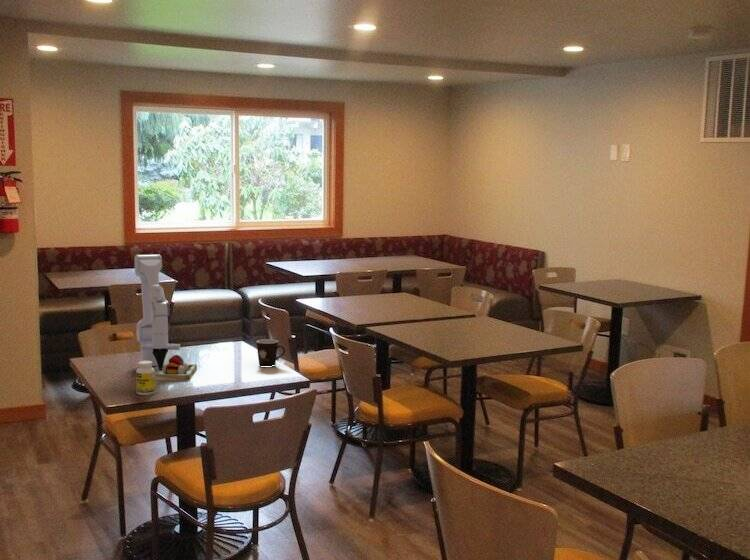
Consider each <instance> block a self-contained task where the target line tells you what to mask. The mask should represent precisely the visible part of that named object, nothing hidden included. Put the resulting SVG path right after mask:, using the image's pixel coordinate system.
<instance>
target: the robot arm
mask: <svg viewBox="0 0 750 560" xmlns="http://www.w3.org/2000/svg"><path fill="white" fill-rule="evenodd" d="M133 260H134V274H135V276H137V277H139V279H140V284H141V288H140V289H141V302H142V303H141V304H142V316H143V317H142V318H141V319H140V320H139V321H138V322H137V324H136V331H135V332H136V333H135V335H136V340H137V342H138V343H140V346H139V349H140V361H152V367H155V366H156V367H157V369H158V370H159V369H162V368H163V364H165V360H166V357H167V354H168V352H169V351H180V350H181V344H180V343H169V318H168V317H169V316H170V311H171V310H170V309H171V308H170V302H169V301H168V299H166V296H165V291H164V288H163V286H161V285H160V278H159V274H160V272H161V270H162V267H163V258H162V255H160V253H158V254H136V255H135V256H134V259H133Z"/></svg>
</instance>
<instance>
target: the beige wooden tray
mask: <svg viewBox="0 0 750 560" xmlns="http://www.w3.org/2000/svg"><path fill="white" fill-rule="evenodd" d="M167 364H168V363H163V366H164V365H167ZM187 364H188V365H189V370H188V371H187V372H186V373H184V374H178V373H176V374H169V373H168V374H163V373H162V374H160V373H157V374H156V373H155V381H182V380H189V381H190V379H191V378H192V377H193V375H194V374H195V372H196V371H197V365H198V364H197V363H187ZM158 370H159V371H161V370H160V369H158ZM191 376H192V377H191Z"/></svg>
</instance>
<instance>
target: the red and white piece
mask: <svg viewBox="0 0 750 560" xmlns="http://www.w3.org/2000/svg"><path fill="white" fill-rule="evenodd" d="M166 364H167V365H164V366H163V368H162V370H161V372H162V374H187V372H188V371H189V365H188V364H189V363H187V362H184V359H183V357H182V356H180V355H179V354H174V355H172V356H171V357H170V358H169V360H168V363H166Z"/></svg>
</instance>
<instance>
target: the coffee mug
mask: <svg viewBox="0 0 750 560" xmlns="http://www.w3.org/2000/svg"><path fill="white" fill-rule="evenodd" d="M256 347H257V357H258V364H259V365H260V366H272V365H275V366H276V365H277V360H279V358H281V357H283V356H284V355H285V353H286V349H285V347H284V346H282V345H279V340H277V339H270V338H266V339H265V338H264V339H263V338H262V339H258V340H256ZM279 348H281V349H282V350H283V353H282V354H280V355H279V356H278V357H277V354H278V349H279ZM260 366H259V367H260Z"/></svg>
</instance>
